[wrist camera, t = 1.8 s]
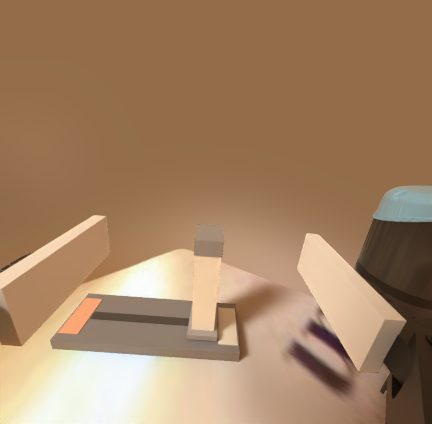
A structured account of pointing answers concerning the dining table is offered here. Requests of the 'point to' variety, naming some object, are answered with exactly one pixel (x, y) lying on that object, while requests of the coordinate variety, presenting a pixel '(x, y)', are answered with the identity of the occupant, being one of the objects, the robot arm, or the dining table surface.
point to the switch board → (145, 328)
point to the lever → (206, 283)
